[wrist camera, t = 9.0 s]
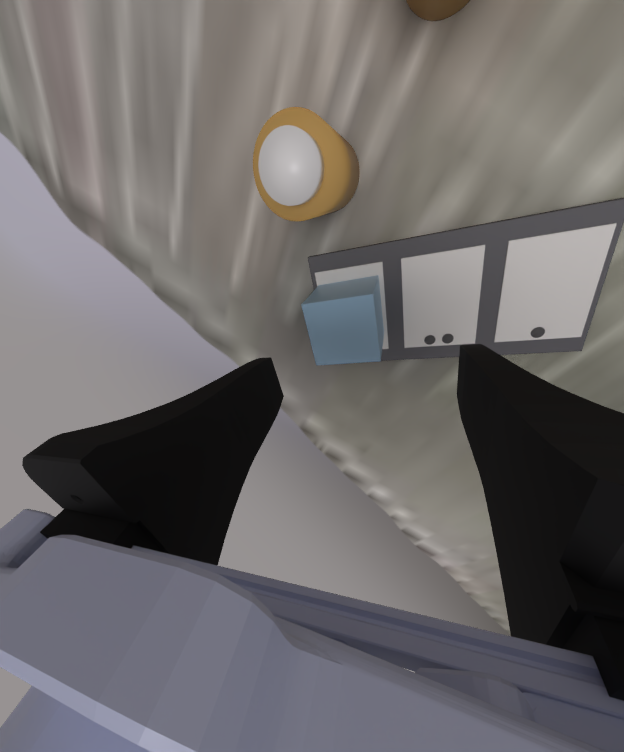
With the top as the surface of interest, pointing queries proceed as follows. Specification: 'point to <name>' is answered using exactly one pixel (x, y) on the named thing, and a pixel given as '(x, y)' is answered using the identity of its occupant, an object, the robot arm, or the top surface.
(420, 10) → the bottle
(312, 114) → the bottle
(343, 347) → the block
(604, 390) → the top surface
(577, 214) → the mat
